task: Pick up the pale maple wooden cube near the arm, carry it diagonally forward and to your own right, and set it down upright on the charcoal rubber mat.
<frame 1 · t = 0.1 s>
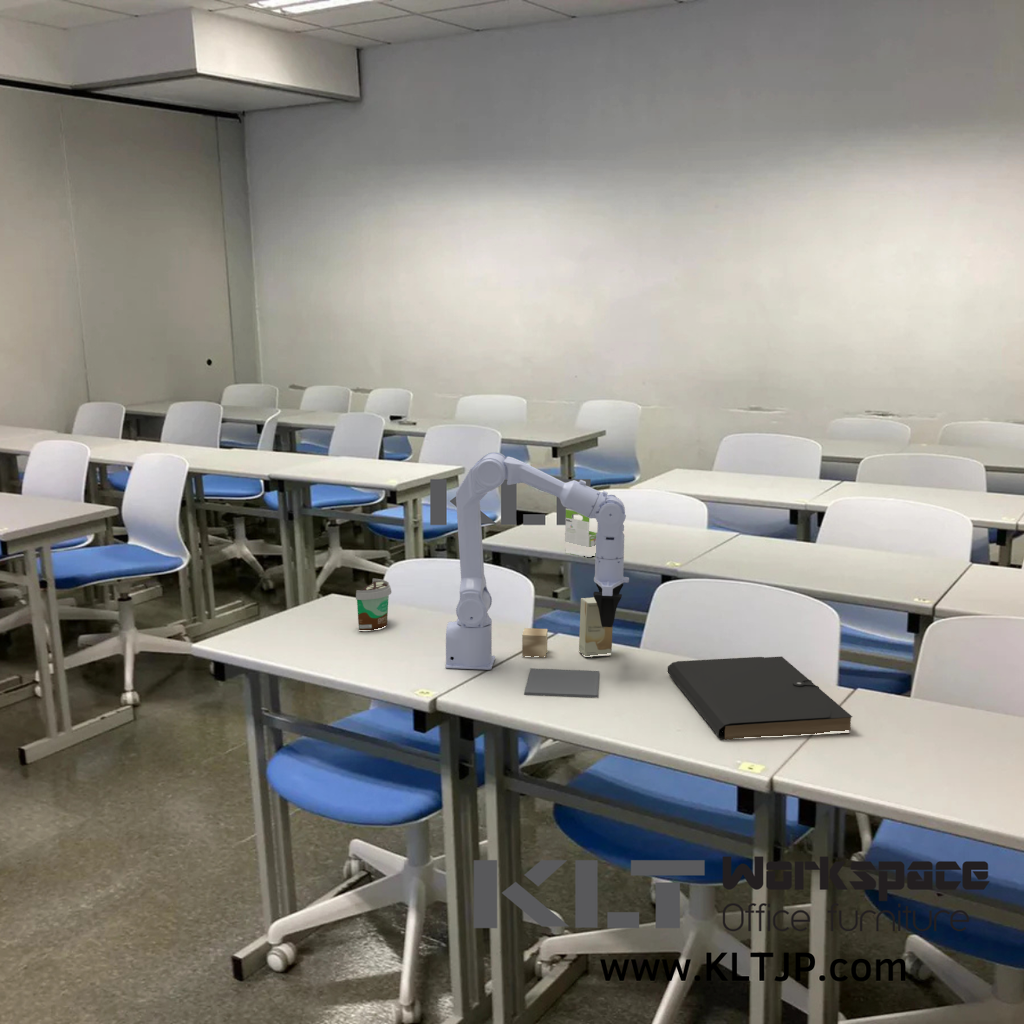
hand: (608, 621, 213), 10 cm above the table, tool pointing down, fingers open, 7 cm apart
skincare box: (595, 655, 224), on the table
food container: (378, 627, 243), on the table
ink box: (582, 555, 319), on the table
file folder: (752, 706, 196), on the table
charcoal mat: (562, 683, 205), on the table
maple cube: (534, 654, 224), on the table
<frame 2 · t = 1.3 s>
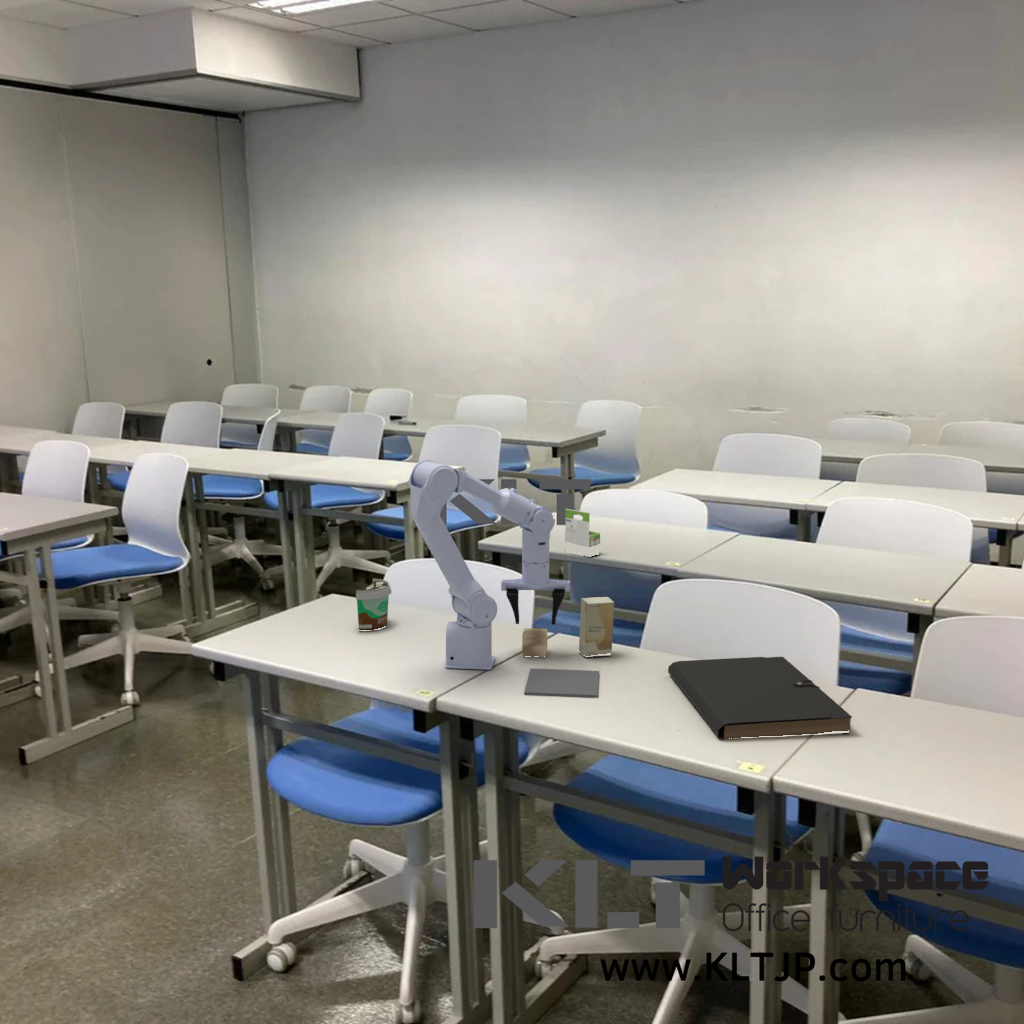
hand: (535, 622, 223), 7 cm above the table, tool pointing down, fingers open, 7 cm apart
nothing on the table moved.
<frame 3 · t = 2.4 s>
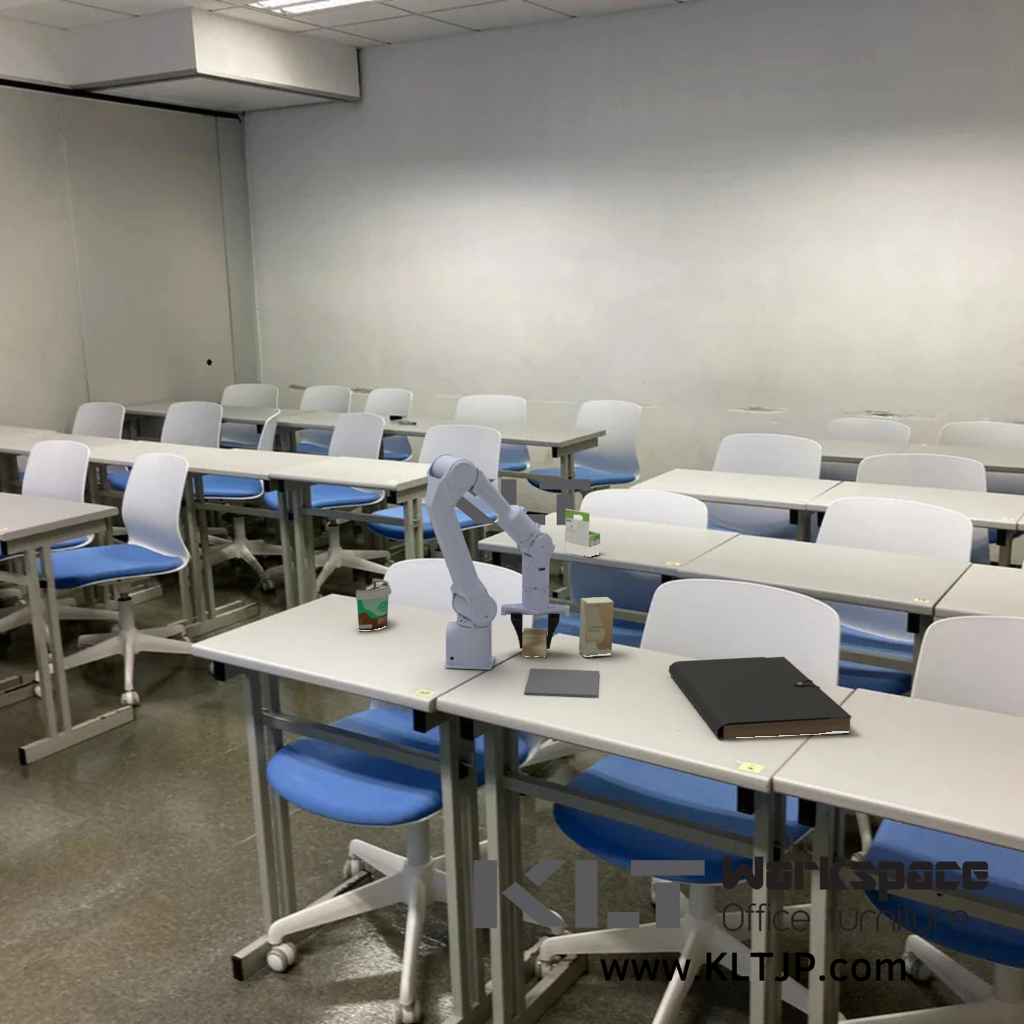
hand: (534, 647, 224), 1 cm above the table, tool pointing down, fingers closed on maple cube, 5 cm apart
maple cube: (534, 653, 224), on the table, touching gripper
everything else where it was.
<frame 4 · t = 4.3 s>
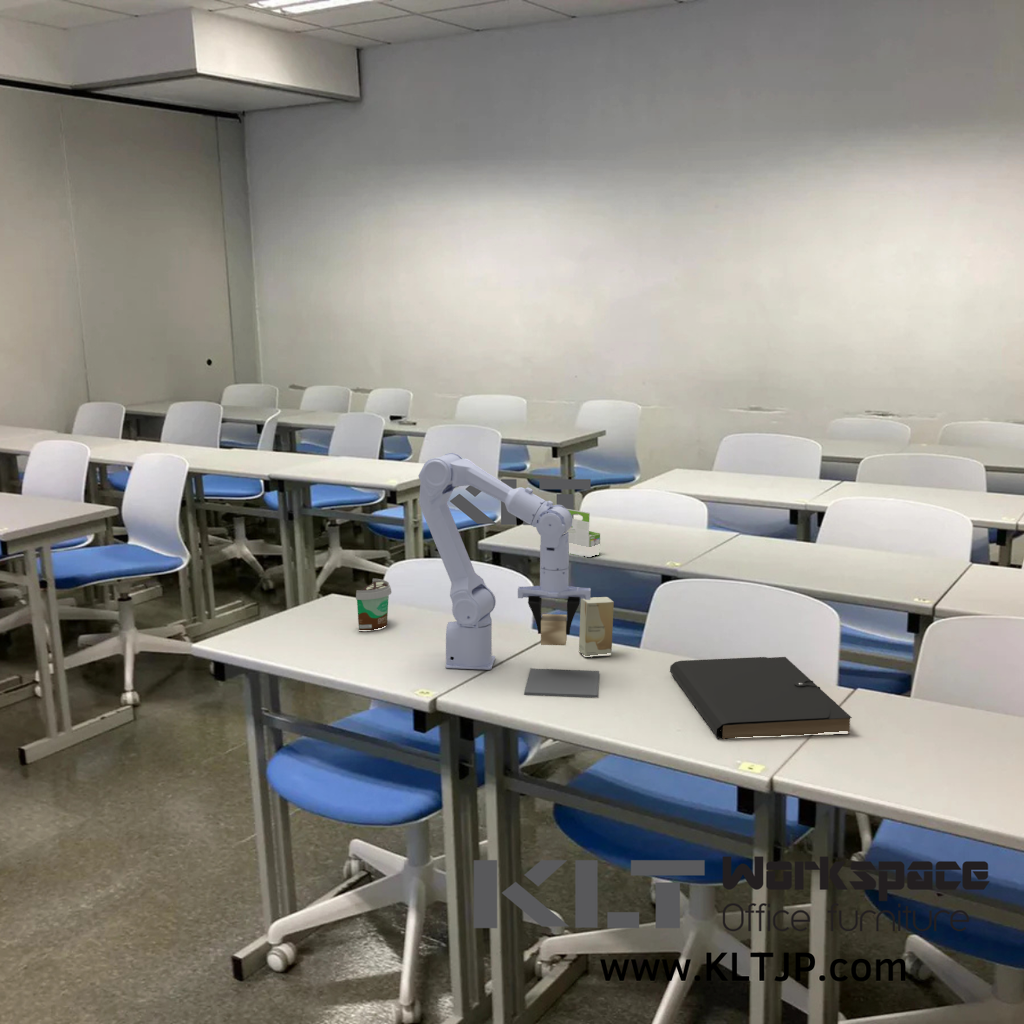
hand: (553, 632, 210), 8 cm above the table, tool pointing down, fingers closed on maple cube, 5 cm apart
maple cube: (553, 641, 211), point 6 cm above the table, touching gripper
everything else where it was.
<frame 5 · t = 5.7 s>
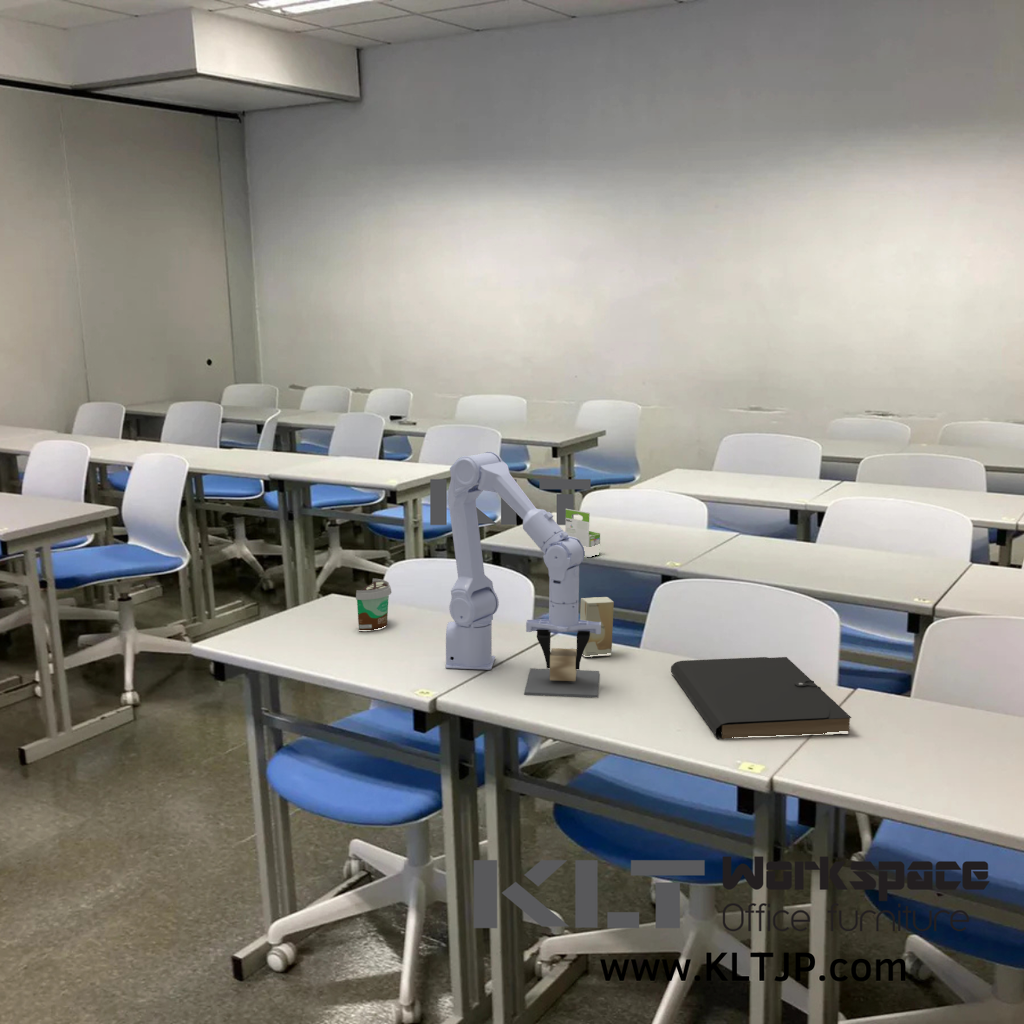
hand: (563, 667, 205), 3 cm above the table, tool pointing down, fingers closed on maple cube, 5 cm apart
maple cube: (563, 676, 206), point 1 cm above the table, touching gripper
everything else where it was.
when the fingers open (3 cm above the table, at t = 6.7 s): maple cube stays where it is, resting on charcoal mat.
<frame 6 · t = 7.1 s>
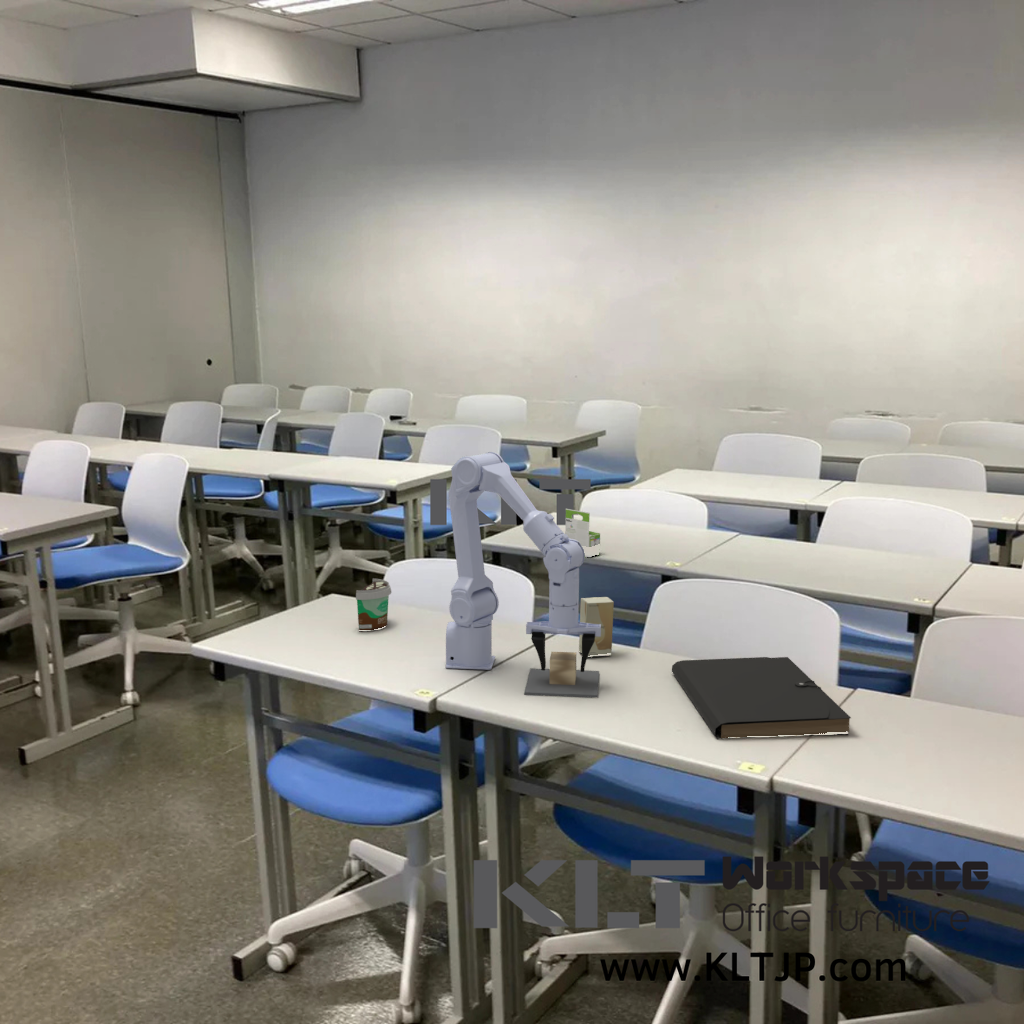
hand: (563, 669, 205), 3 cm above the table, tool pointing down, fingers open, 7 cm apart
maple cube: (562, 680, 206), resting on charcoal mat
everything else where it was.
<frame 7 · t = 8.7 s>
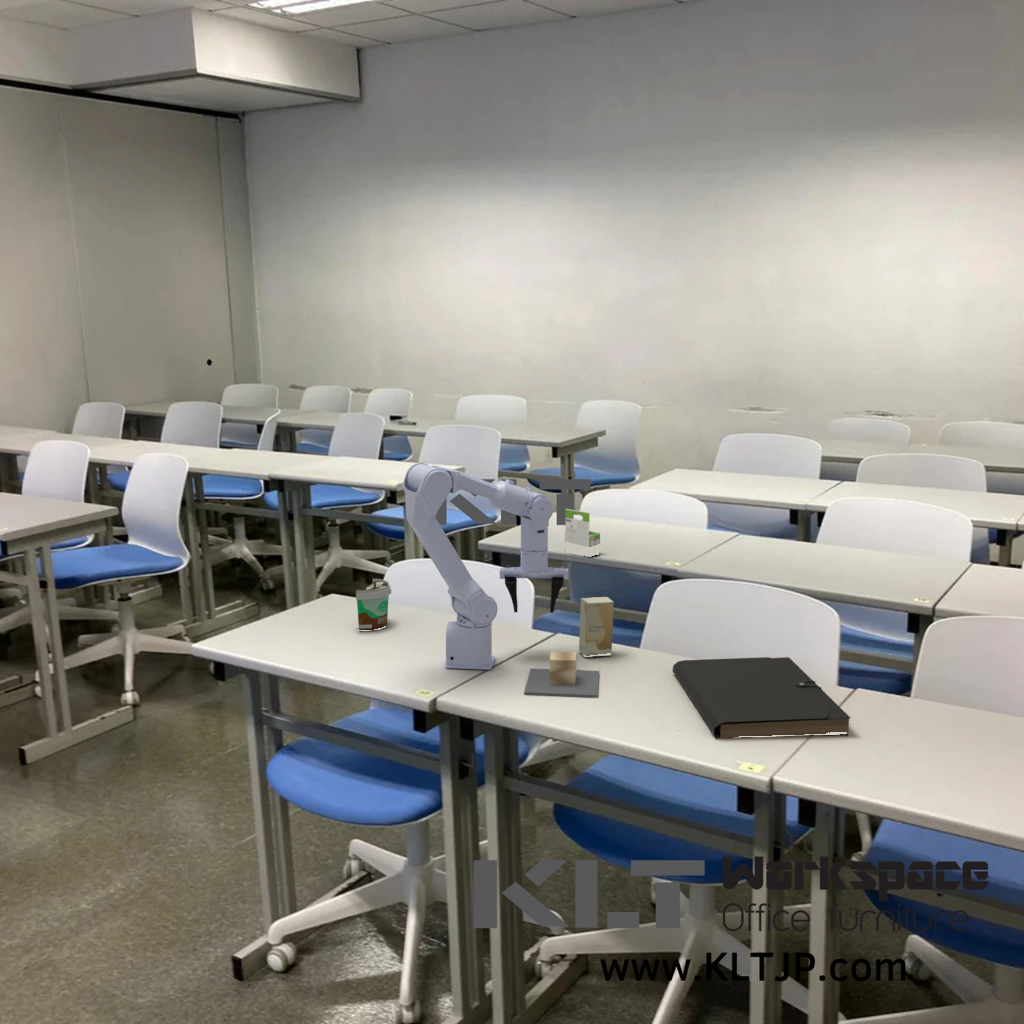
hand: (533, 611, 222), 9 cm above the table, tool pointing down, fingers open, 7 cm apart
nothing on the table moved.
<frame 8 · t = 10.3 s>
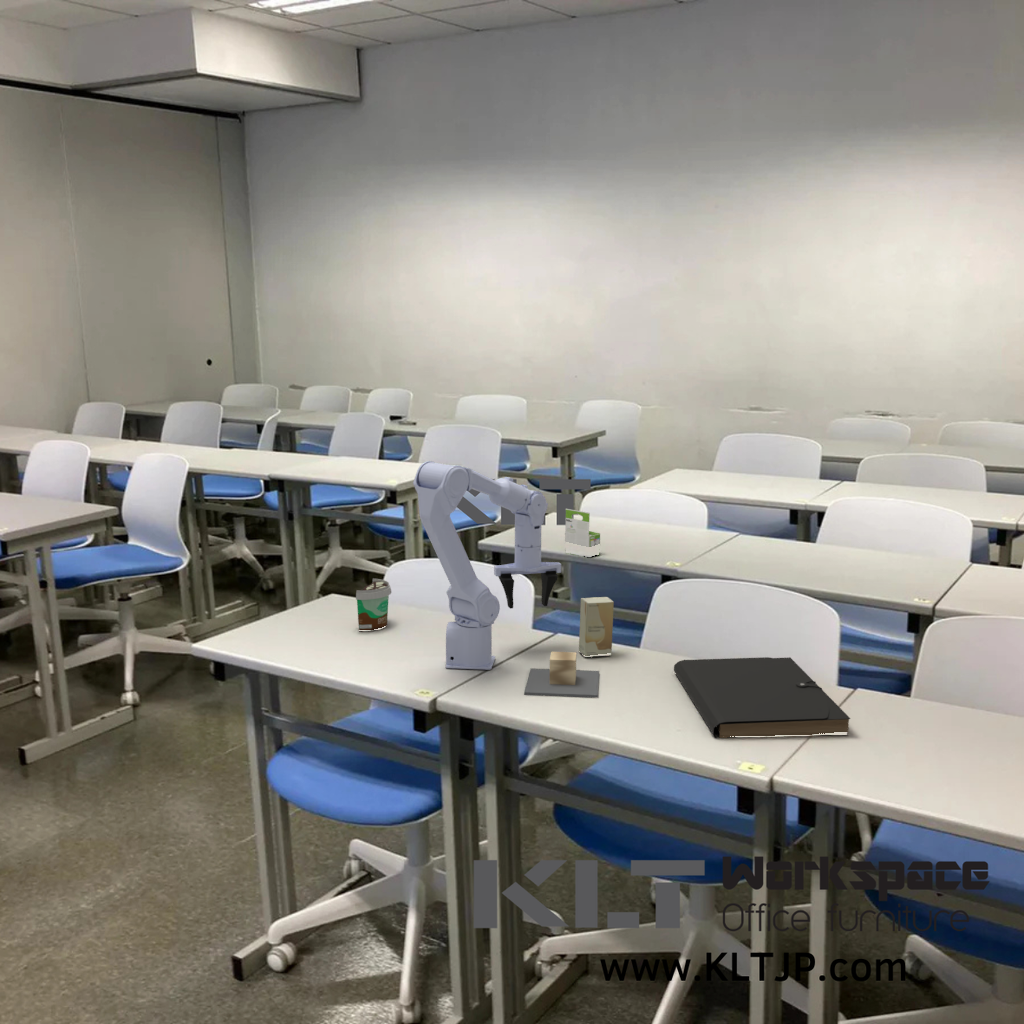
hand: (527, 606, 226), 9 cm above the table, tool pointing down, fingers open, 7 cm apart
nothing on the table moved.
at the end: maple cube inside the target area on the charcoal mat (0.6 cm from its centre), point 0.5 cm above the charcoal mat's base; maple cube tilted 0°; the gripper is holding nothing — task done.
